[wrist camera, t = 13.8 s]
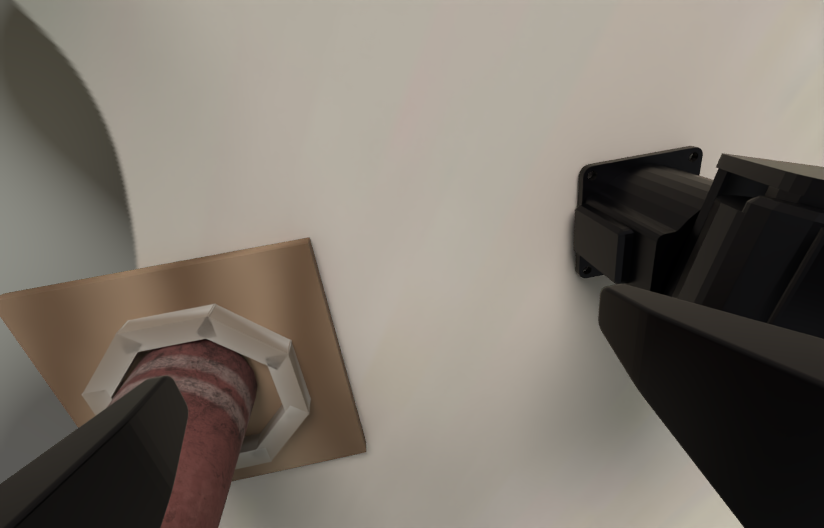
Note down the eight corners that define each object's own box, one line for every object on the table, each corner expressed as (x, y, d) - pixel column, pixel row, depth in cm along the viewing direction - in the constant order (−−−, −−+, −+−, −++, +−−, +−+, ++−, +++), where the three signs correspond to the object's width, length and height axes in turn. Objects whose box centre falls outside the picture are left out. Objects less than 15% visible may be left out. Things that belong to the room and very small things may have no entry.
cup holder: (309, 237, 21) (305, 253, 19) (365, 442, 27) (366, 468, 26) (2, 293, 20) (-32, 315, 18) (137, 491, 26) (122, 521, 25)
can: (186, 436, 24) (8, 832, 12) (114, 358, 21) (-224, 770, 9) (281, 399, 24) (205, 762, 11) (221, 316, 21) (32, 674, 9)
